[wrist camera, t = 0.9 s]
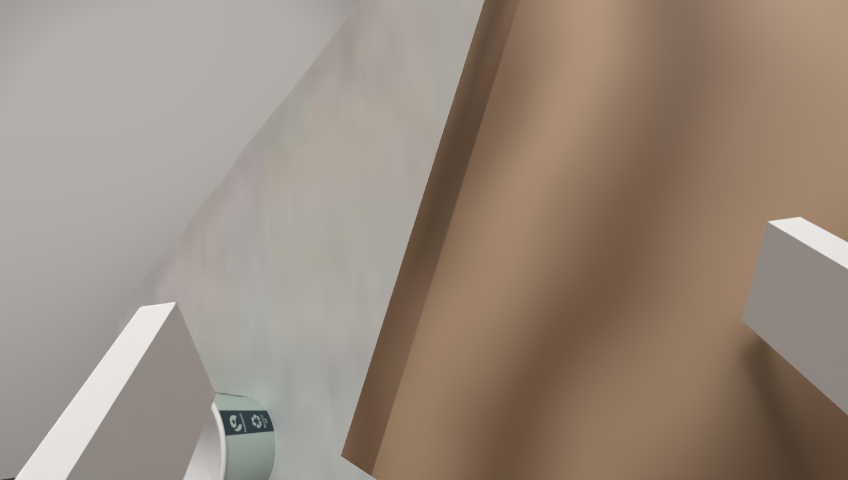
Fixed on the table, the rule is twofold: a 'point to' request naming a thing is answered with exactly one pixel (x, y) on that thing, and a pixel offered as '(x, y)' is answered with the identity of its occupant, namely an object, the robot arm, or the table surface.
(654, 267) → the walnut shelf
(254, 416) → the food container
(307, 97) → the table surface
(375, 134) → the table surface
